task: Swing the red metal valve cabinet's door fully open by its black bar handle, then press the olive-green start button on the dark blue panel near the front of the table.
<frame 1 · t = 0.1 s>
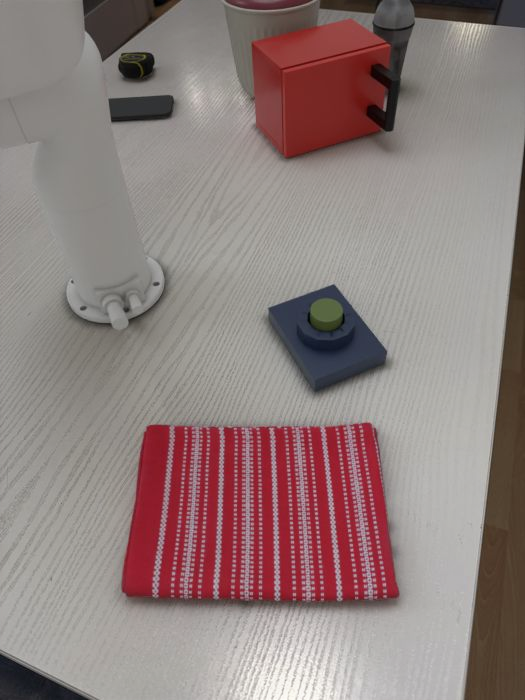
dish towel: (259, 508, 51), on the table
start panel: (324, 340, 64), on the table
phone: (133, 111, 102), on the table
valve cabinet: (315, 127, 95), on the table
door: (345, 111, 84), point 7 cm above the table, hinge at 0.0°
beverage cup: (384, 90, 103), on the table
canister: (274, 89, 105), on the table
tape measure: (137, 75, 112), on the table
button: (326, 315, 61), point 4 cm above the table, slide at 0.1 cm
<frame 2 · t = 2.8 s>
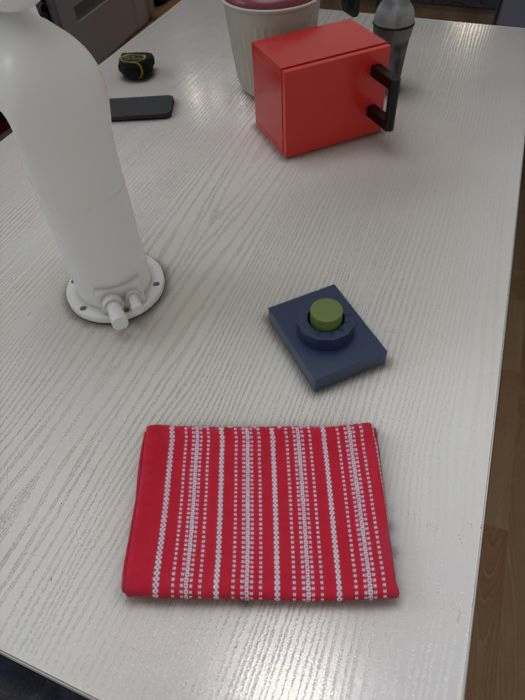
hand: (382, 5, 72), 22 cm above the table, tool pointing down, fingers open, 9 cm apart
nothing on the table moved.
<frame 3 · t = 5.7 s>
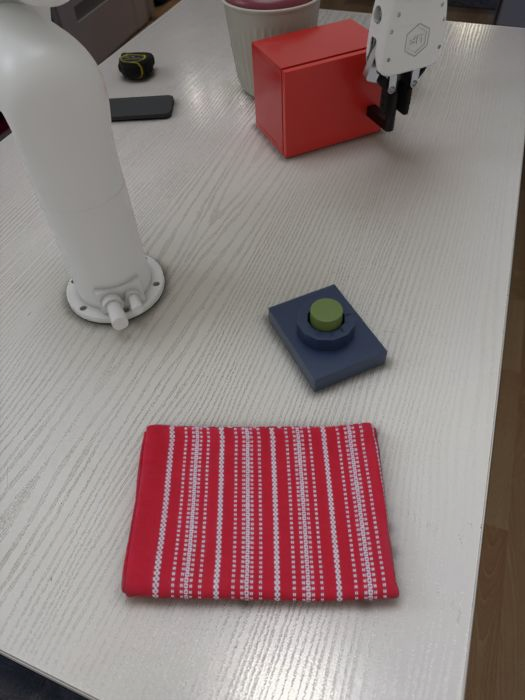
hand: (393, 112, 84), 7 cm above the table, tool pointing down, fingers closed on door
door: (345, 111, 84), point 7 cm above the table, hinge at 0.0°, touching gripper
everything else where it was.
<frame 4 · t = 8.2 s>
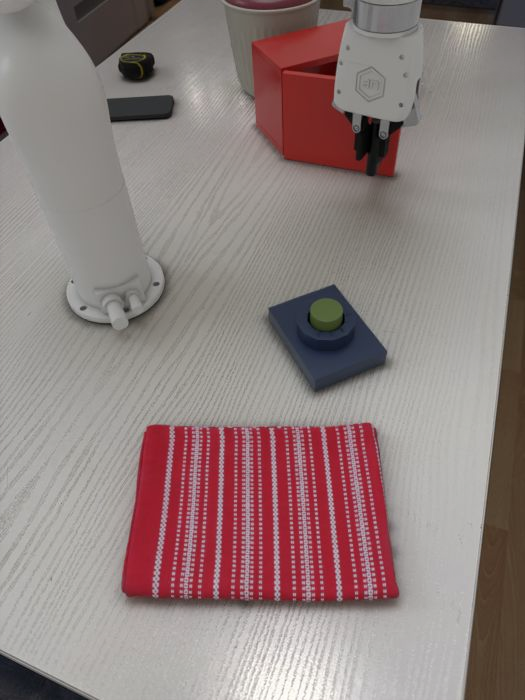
hand: (370, 157, 76), 7 cm above the table, tool pointing down, fingers closed on door
door: (334, 135, 80), point 7 cm above the table, hinge at 45.4°, touching gripper
everything else where it was.
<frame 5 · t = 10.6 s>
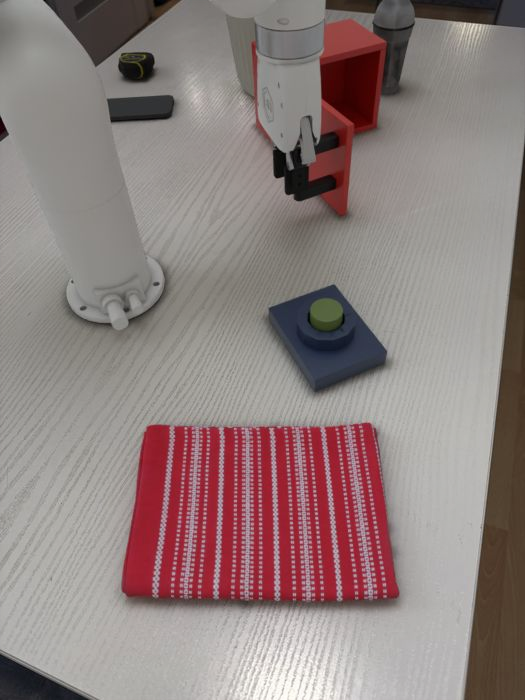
hand: (290, 182, 73), 7 cm above the table, tool pointing down, fingers open, 3 cm apart
door: (294, 149, 78), point 7 cm above the table, hinge at 87.4°
everything else where it was.
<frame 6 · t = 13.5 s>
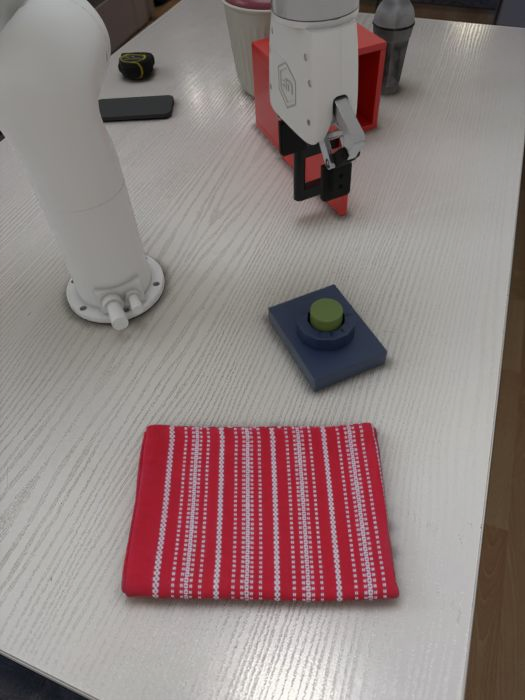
hand: (313, 173, 59), 16 cm above the table, tool pointing down, fingers open, 9 cm apart
nothing on the table moved.
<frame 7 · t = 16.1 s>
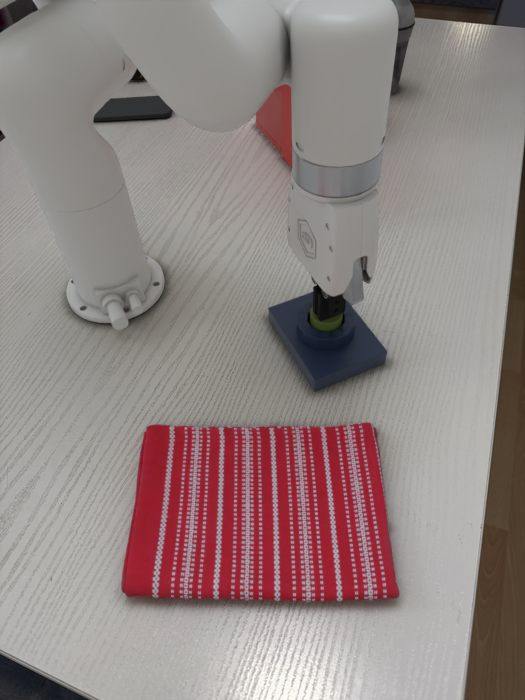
hand: (328, 312, 60), 5 cm above the table, tool pointing down, fingers closed
button: (326, 317, 61), point 4 cm above the table, slide at -0.3 cm, touching gripper
everything else where it was.
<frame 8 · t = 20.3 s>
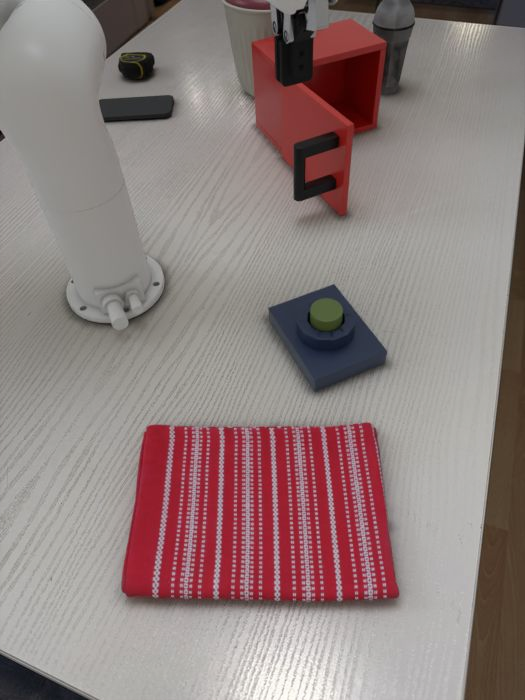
hand: (293, 80, 52), 25 cm above the table, tool pointing down, fingers closed
button: (326, 315, 61), point 4 cm above the table, slide at 0.1 cm
everything else where it was.
at the end: door at +87° (first picture: +0°); button pushed in 1.1 cm at the most during the clip, back to where it started at the end; button slide at 0.1 cm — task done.
